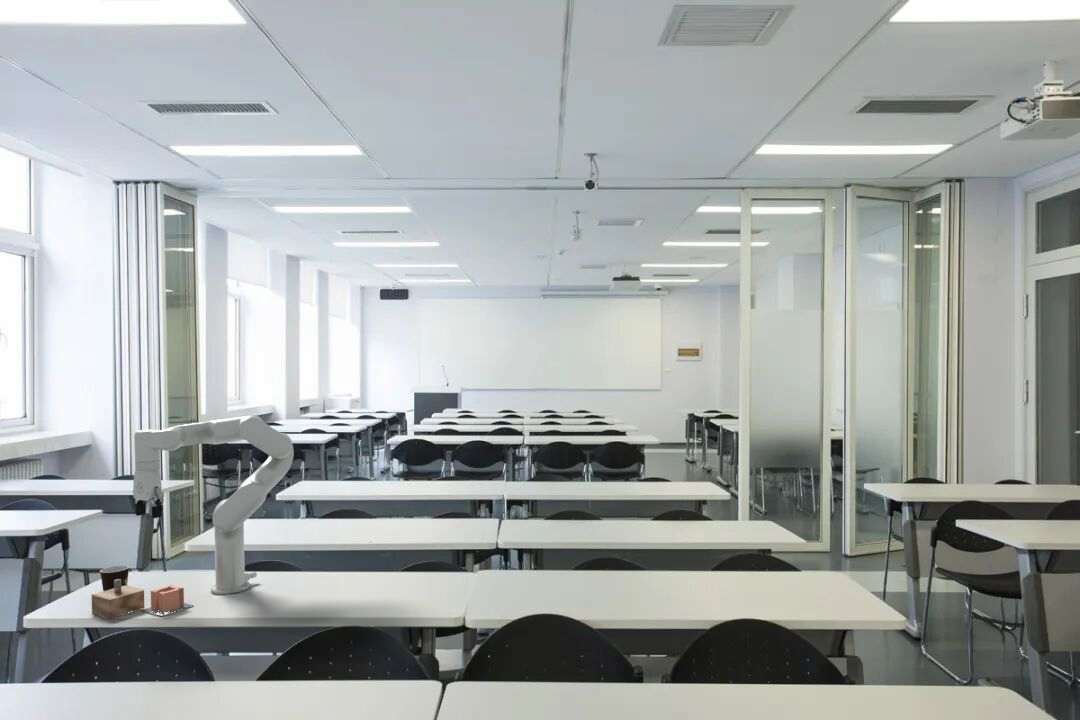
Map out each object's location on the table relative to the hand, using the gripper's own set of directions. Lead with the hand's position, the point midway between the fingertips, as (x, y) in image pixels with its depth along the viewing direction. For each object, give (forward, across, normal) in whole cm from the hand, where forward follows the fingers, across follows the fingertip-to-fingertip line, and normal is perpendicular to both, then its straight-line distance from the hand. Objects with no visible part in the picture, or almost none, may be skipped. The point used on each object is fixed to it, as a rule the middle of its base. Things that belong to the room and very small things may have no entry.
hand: (148, 516), depth 251 cm
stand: (+28, +2, -12) cm, 31 cm away
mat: (+28, +15, -3) cm, 32 cm away
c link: (+28, +15, -3) cm, 32 cm away
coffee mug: (+28, -13, -4) cm, 32 cm away
